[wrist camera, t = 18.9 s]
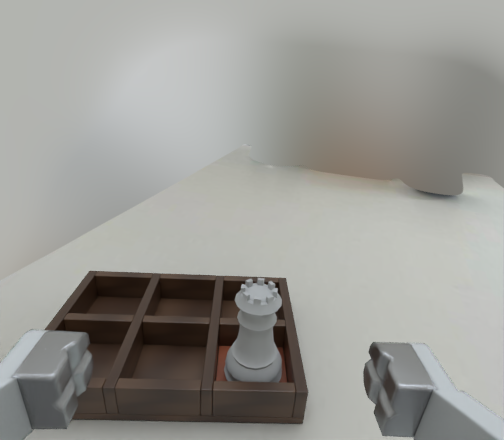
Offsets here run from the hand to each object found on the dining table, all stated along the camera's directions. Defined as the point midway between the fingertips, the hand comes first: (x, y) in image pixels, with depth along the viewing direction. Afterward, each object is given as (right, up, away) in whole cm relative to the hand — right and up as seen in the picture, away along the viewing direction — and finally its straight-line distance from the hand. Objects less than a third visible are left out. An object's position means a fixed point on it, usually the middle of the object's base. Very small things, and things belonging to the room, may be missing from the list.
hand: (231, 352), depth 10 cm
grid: (-6, -7, +19) cm, 22 cm away
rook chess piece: (+1, -8, +16) cm, 19 cm away
